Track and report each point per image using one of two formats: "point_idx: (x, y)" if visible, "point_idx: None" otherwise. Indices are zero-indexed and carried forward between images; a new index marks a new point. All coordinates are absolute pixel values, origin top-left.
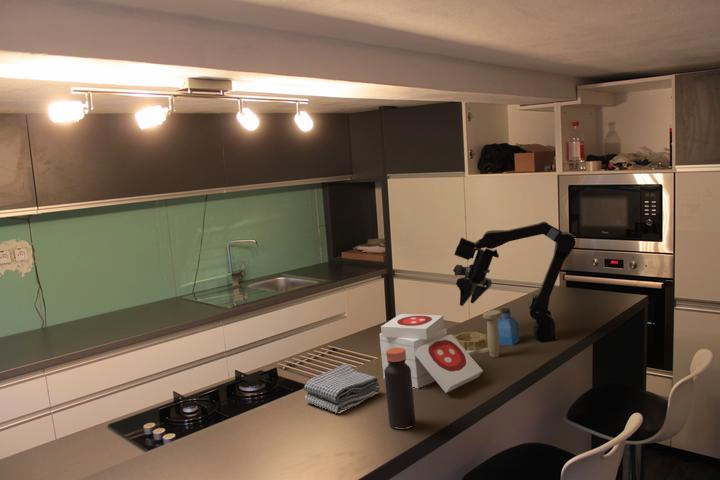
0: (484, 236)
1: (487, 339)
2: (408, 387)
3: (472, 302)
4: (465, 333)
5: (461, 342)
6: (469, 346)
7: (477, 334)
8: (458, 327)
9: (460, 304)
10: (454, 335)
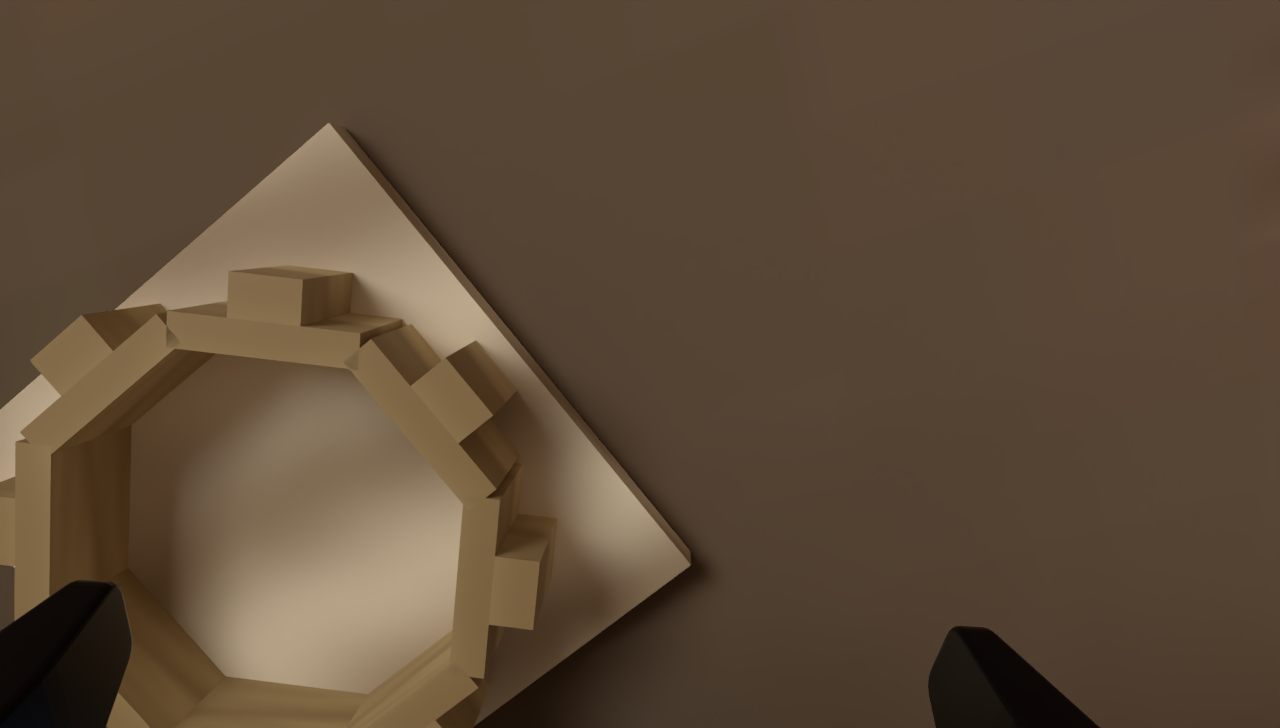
0: None
1: None
2: None
3: (941, 690)
4: (414, 443)
5: None
6: None
7: (457, 618)
8: (1263, 19)
9: (59, 612)
10: (266, 301)
